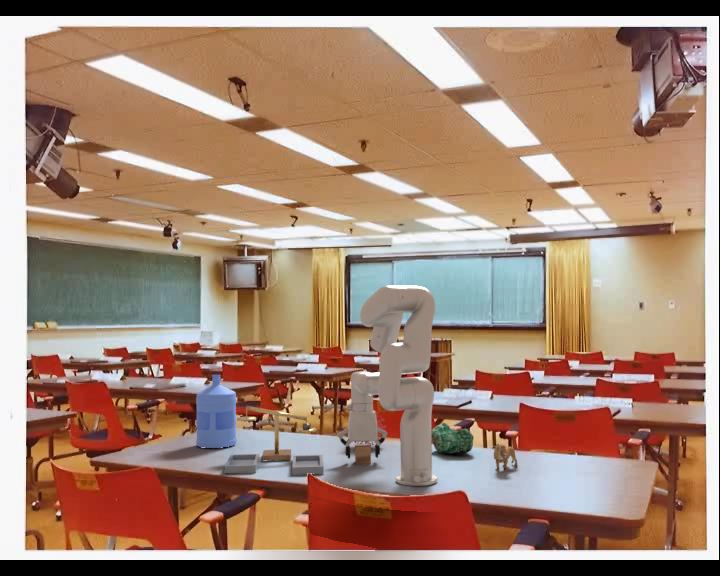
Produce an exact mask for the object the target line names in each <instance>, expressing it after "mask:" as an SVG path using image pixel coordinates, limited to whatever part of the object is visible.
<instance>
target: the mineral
mask: <svg viewBox="0 0 720 576" xmlns="http://www.w3.org/2000/svg"><path fill="white" fill-rule="evenodd" d="M431 441H432V444H433V446H434V449H435V450H436V451H437V453H438V454H441V455H449V454H454V453H458V452H459V453H462V454H466V453H470V452H471V451H472V449H473V445H474V435H473V434H472V432H471V431H469V429H467V428H462V429H461V430H459V431H458V430H456V429H452V428H451V427H450V425H449V424H448V423H446V422H442V423H440V424H437V425H436V426H435V427H433V428H431Z"/></svg>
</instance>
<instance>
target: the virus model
mask: <svg viewBox="0 0 720 576" xmlns="http://www.w3.org/2000/svg"><path fill="white" fill-rule="evenodd" d="M373 411H375V413H376V418H377V427H378V428H380V429H382V430H384V431H386V430H387V424H385V425H383V423H381V422H385V418H383V417H382V415H378V414H379V412H377V410H375V409H373ZM378 418H379V419H378ZM381 437H382V435H381V433H379V432H378V437H377V439H378V440H379V439H380V438H381ZM354 443H355V444H369V445H370V447H372V446H375V444H374V441H365V442H354Z"/></svg>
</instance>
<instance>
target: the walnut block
mask: <svg viewBox="0 0 720 576" xmlns="http://www.w3.org/2000/svg"><path fill="white" fill-rule="evenodd" d="M371 448H372V446H370V445H369V443H368V444H365V443H363V444H360V443H358V444H357V443H355V444H354V463H355V466H356V465H358V466H359V465H363V466H364V465H371V464H372V458H371V456H372V455H371V453H372V452H371V450H372V449H371Z"/></svg>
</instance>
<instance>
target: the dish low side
mask: <svg viewBox="0 0 720 576" xmlns="http://www.w3.org/2000/svg"><path fill="white" fill-rule="evenodd" d="M323 459H324V458H323V454H315V455H314V454H313V455H312V454H309V455H308V454H307V455H304V454H302V455H293V456H292V465H291V466H292V471H291V473H292V476H304V475H303V474H306V475H305V476H308V475H307V473H312V474H313V473H314V474H319V475H324V473H325V472H324V460H323Z"/></svg>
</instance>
